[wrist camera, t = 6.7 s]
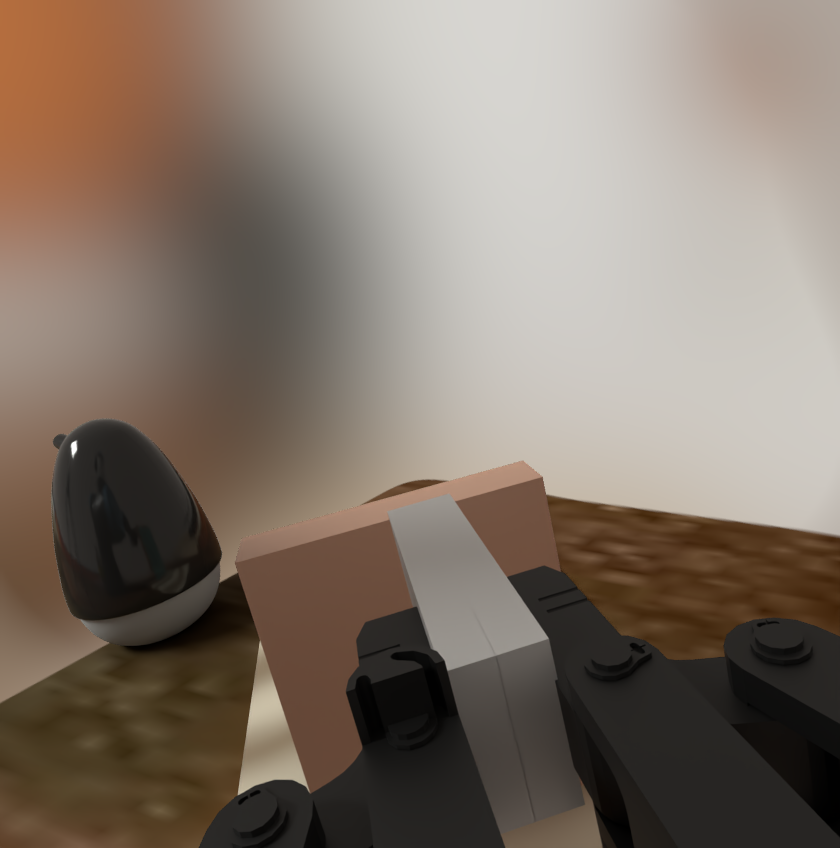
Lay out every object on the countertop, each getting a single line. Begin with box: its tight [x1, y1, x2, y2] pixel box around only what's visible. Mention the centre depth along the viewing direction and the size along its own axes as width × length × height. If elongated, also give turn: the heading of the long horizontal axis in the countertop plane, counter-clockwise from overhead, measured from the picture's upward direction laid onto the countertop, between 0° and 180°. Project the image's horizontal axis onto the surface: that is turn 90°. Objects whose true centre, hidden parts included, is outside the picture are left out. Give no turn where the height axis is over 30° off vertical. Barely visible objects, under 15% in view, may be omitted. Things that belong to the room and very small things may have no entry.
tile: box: [235, 461, 584, 794], centre depth 23 cm, size 2×10×12 cm, turn 100°
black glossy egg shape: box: [51, 419, 222, 646], centre depth 44 cm, size 10×10×15 cm
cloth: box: [238, 641, 602, 848], centre depth 30 cm, size 22×18×1 cm
